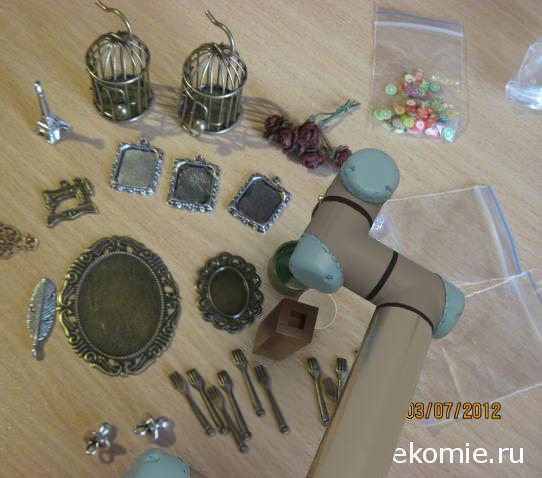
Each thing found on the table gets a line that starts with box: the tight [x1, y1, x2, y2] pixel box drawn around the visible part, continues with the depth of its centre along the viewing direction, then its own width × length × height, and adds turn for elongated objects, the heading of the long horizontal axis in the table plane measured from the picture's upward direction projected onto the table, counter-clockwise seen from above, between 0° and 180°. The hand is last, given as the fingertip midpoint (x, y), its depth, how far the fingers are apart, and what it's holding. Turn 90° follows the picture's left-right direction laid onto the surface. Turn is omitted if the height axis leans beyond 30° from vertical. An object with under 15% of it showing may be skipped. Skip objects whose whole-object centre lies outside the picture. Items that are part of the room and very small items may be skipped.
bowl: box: [267, 239, 311, 297], centre depth 116 cm, size 11×11×6 cm
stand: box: [251, 296, 319, 362], centre depth 101 cm, size 6×6×26 cm
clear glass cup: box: [296, 289, 338, 333], centre depth 111 cm, size 8×8×10 cm
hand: (305, 255), depth 107 cm, fingers open, 8 cm apart
